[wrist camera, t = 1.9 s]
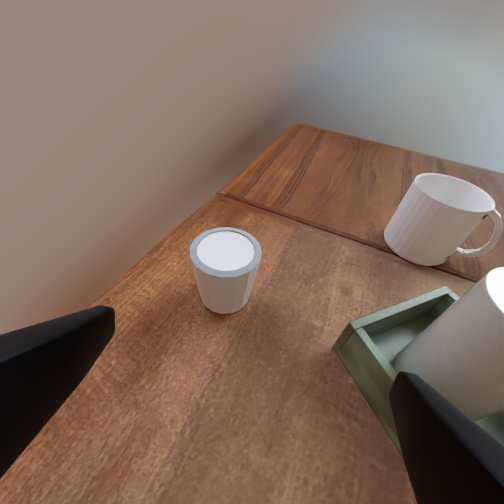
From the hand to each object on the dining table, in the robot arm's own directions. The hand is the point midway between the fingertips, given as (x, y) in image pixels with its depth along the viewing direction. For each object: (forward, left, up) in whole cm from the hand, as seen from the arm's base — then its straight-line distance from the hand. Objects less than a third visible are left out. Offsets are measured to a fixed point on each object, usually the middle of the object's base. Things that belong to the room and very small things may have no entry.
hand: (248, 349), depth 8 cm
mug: (+11, -34, -16) cm, 39 cm away
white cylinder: (-3, -18, -15) cm, 24 cm away
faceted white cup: (+13, -4, -16) cm, 22 cm away
